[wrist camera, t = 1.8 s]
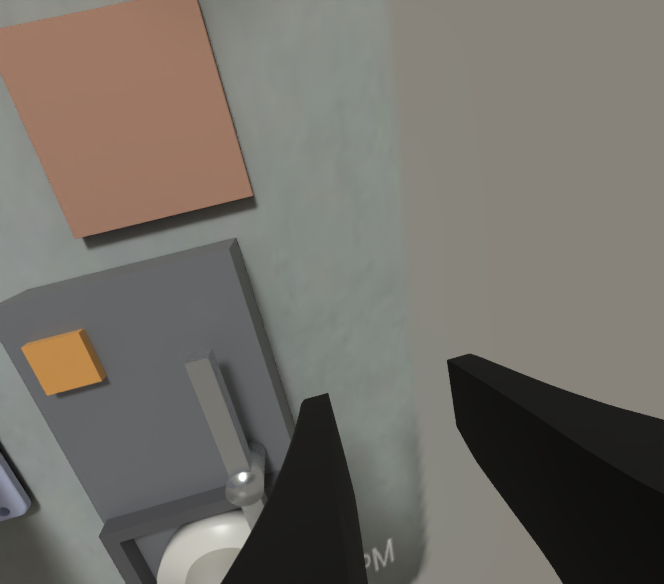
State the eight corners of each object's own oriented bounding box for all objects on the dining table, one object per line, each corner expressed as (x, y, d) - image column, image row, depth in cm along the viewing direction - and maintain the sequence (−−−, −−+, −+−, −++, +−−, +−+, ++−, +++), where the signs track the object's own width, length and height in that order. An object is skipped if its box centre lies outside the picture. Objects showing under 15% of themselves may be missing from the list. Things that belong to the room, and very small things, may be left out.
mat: (81, 236, 15) (75, 239, 15) (-8, 37, 13) (-18, 32, 13) (253, 195, 16) (252, 195, 15) (196, -5, 13) (193, -12, 13)
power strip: (194, 612, 22) (180, 685, 19) (27, 289, 16) (-35, 319, 12) (339, 567, 22) (349, 631, 19) (236, 237, 16) (226, 253, 13)
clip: (287, 601, 19) (288, 648, 17) (187, 343, 14) (173, 369, 12) (315, 592, 19) (319, 638, 17) (224, 333, 14) (215, 358, 13)
